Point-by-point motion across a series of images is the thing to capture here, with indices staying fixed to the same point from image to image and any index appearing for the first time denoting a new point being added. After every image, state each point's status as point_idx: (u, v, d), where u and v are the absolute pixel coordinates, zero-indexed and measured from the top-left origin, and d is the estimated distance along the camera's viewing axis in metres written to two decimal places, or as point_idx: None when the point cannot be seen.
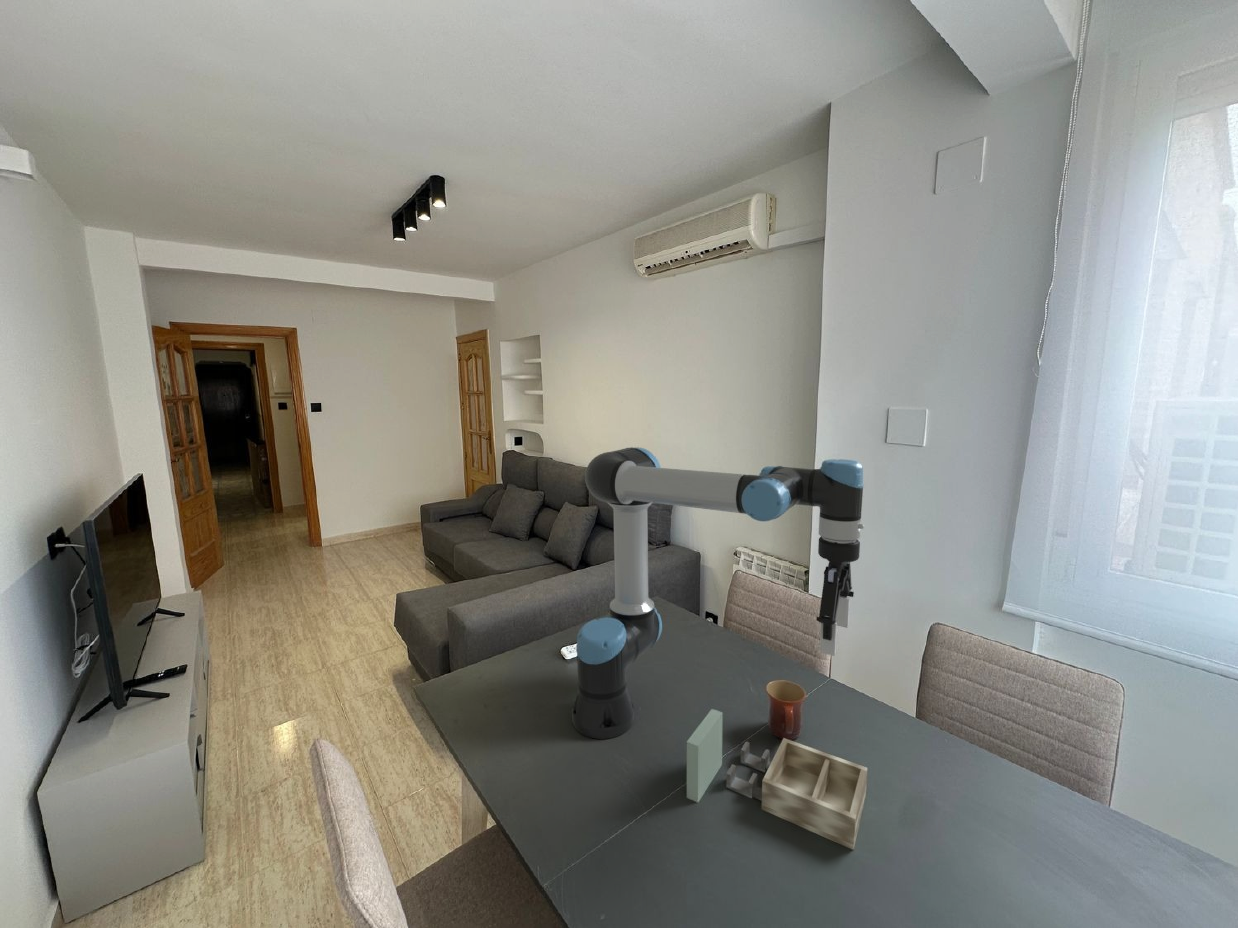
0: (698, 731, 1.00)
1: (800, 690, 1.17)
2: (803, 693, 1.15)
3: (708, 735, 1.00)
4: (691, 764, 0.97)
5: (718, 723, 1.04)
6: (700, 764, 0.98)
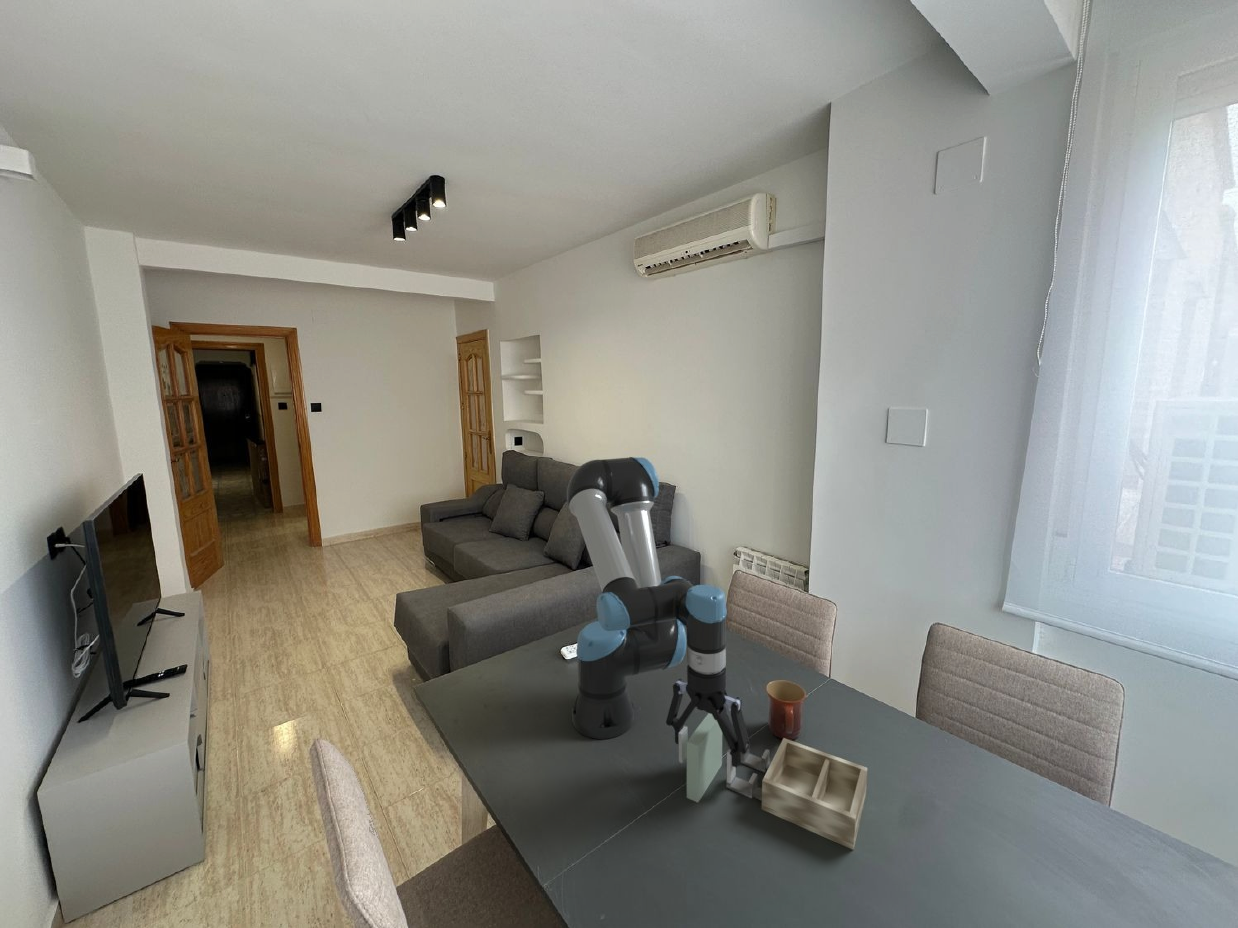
0: (698, 731, 1.00)
1: (800, 690, 1.17)
2: (803, 693, 1.15)
3: (708, 735, 1.00)
4: (691, 764, 0.97)
5: None
6: (700, 764, 0.98)
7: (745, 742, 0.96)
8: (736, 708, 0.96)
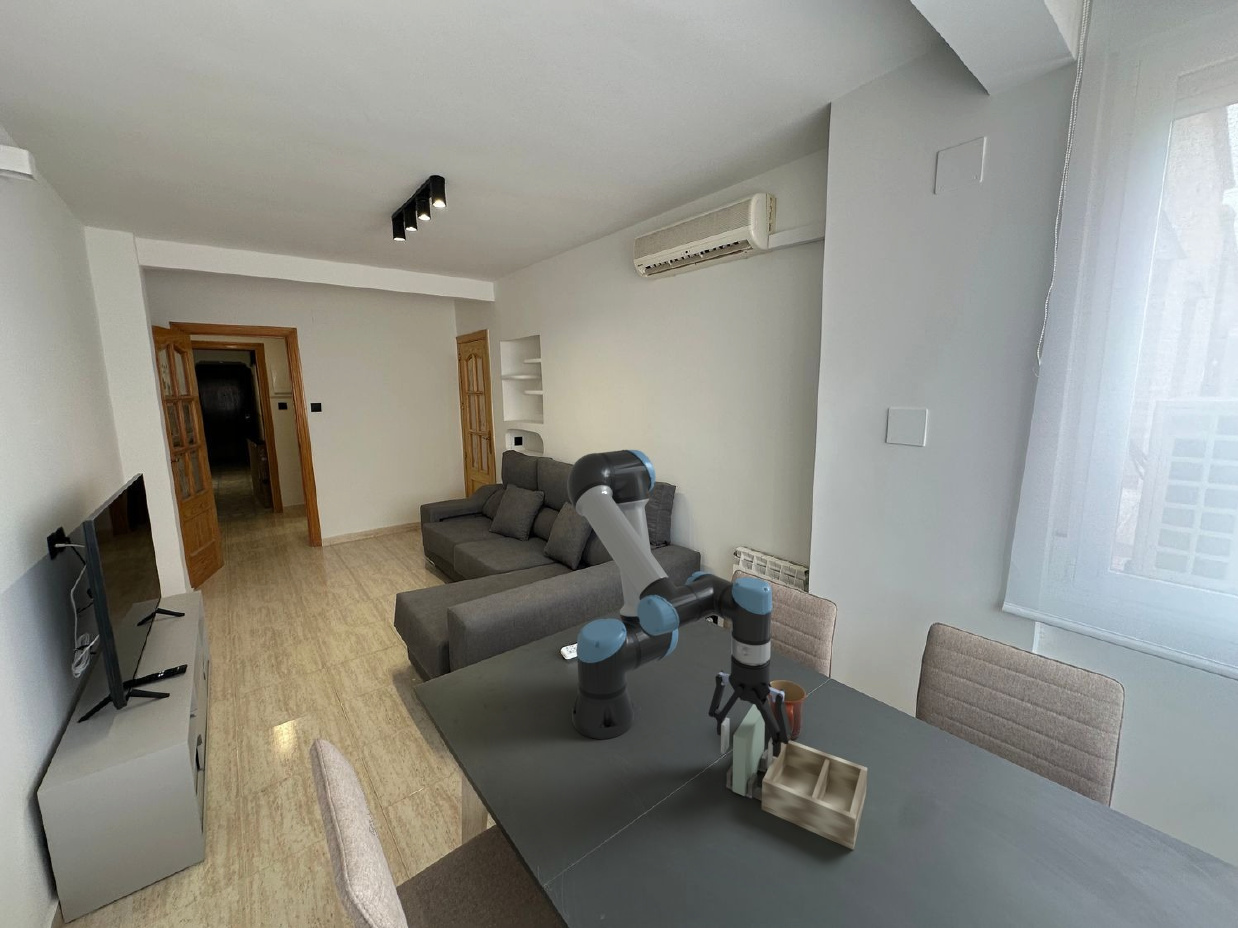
0: (743, 725, 1.01)
1: (800, 690, 1.17)
2: (803, 693, 1.15)
3: (753, 729, 1.01)
4: (738, 758, 0.98)
5: (761, 717, 1.05)
6: (746, 758, 0.98)
7: (787, 733, 0.98)
8: (781, 699, 0.97)
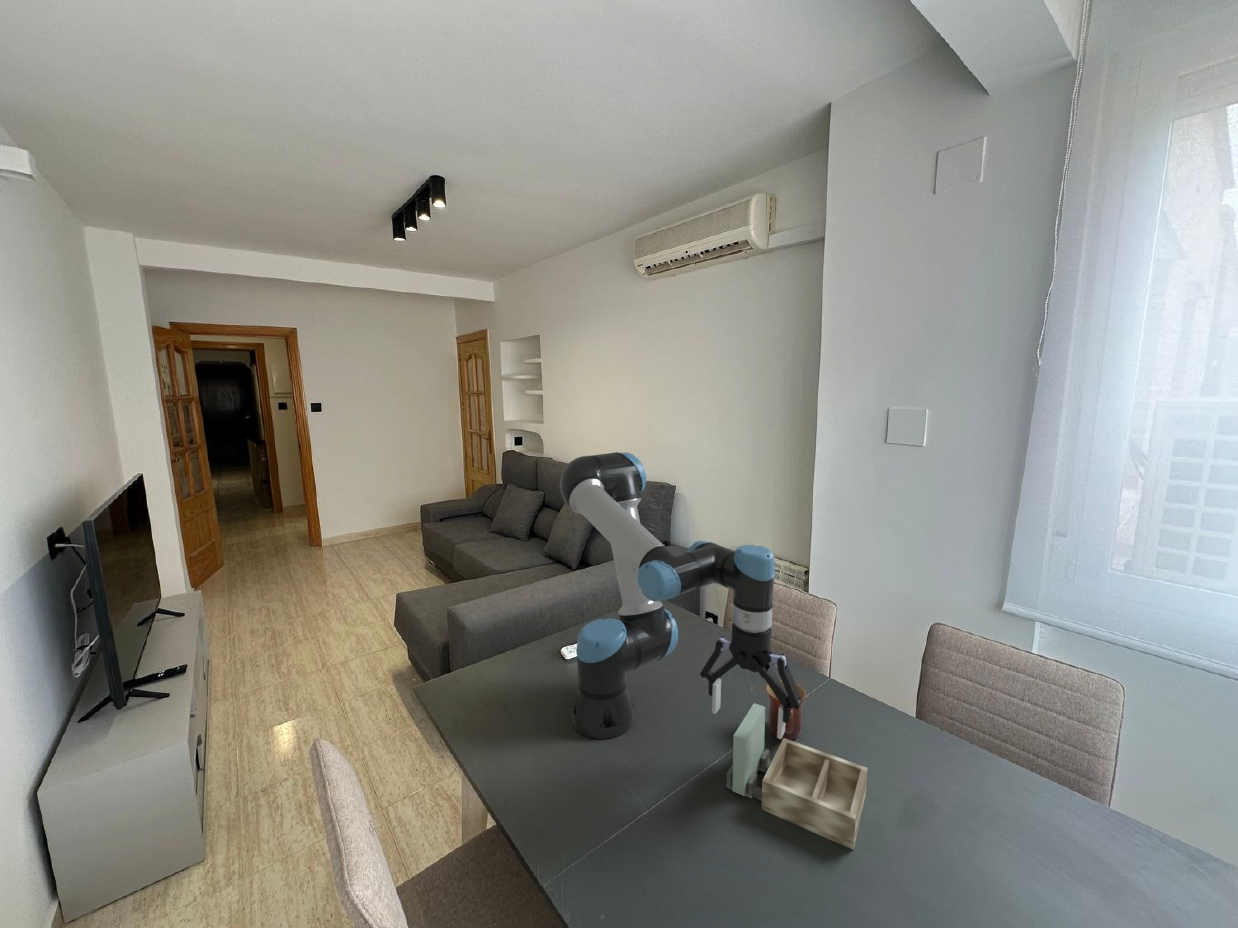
0: (743, 725, 1.01)
1: (800, 690, 1.17)
2: (803, 693, 1.15)
3: (753, 729, 1.01)
4: (738, 758, 0.98)
5: (761, 717, 1.05)
6: (746, 758, 0.98)
7: (797, 697, 0.96)
8: (782, 663, 0.96)
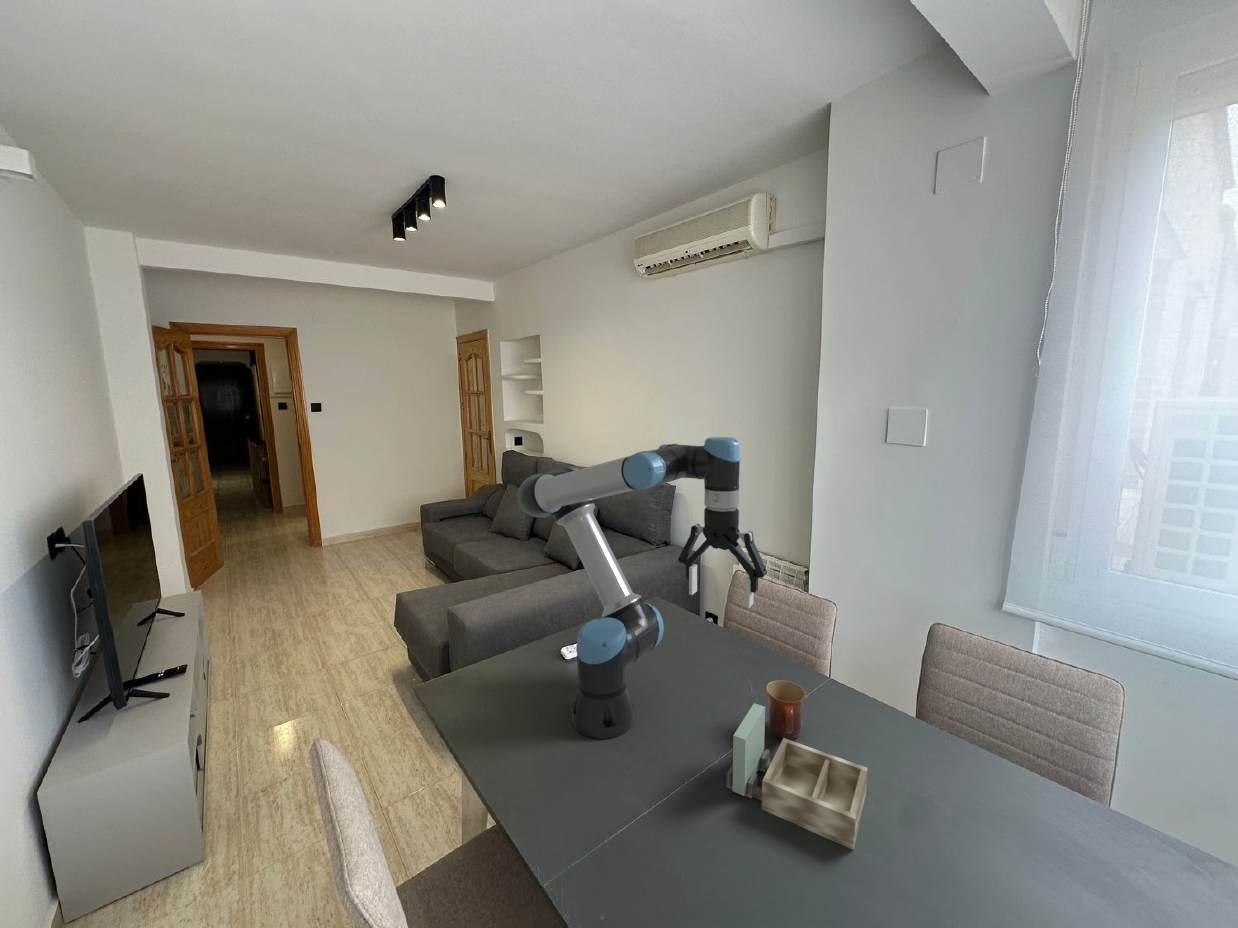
0: (743, 725, 1.01)
1: (800, 690, 1.17)
2: (803, 693, 1.15)
3: (753, 729, 1.01)
4: (738, 758, 0.98)
5: (761, 717, 1.05)
6: (746, 758, 0.98)
7: (762, 567, 1.08)
8: (748, 537, 1.08)
